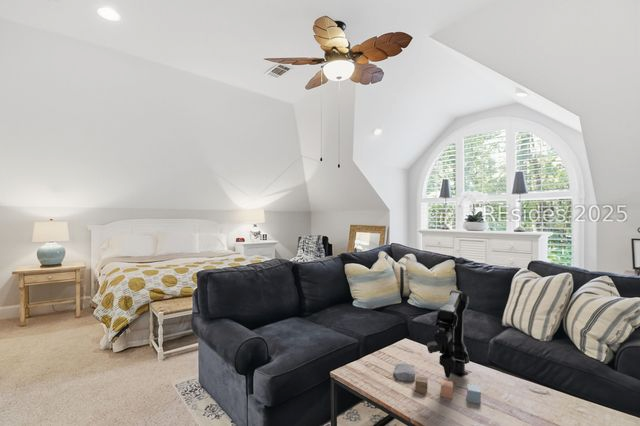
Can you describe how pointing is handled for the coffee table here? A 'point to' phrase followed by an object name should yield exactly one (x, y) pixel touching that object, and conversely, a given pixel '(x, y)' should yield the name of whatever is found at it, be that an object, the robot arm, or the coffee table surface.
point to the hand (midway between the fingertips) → (446, 372)
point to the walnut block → (421, 384)
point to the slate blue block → (473, 394)
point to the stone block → (405, 372)
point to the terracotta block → (447, 389)
